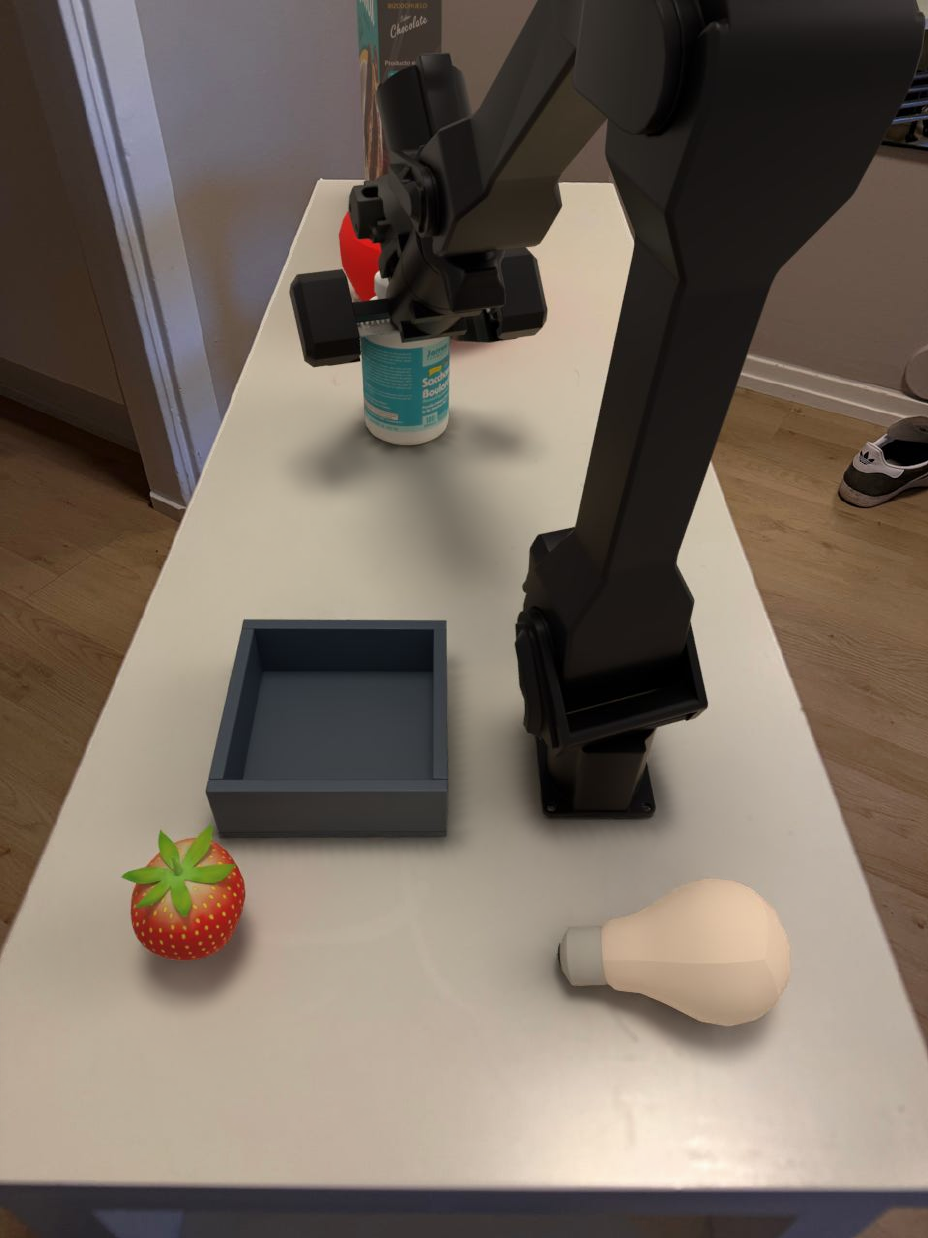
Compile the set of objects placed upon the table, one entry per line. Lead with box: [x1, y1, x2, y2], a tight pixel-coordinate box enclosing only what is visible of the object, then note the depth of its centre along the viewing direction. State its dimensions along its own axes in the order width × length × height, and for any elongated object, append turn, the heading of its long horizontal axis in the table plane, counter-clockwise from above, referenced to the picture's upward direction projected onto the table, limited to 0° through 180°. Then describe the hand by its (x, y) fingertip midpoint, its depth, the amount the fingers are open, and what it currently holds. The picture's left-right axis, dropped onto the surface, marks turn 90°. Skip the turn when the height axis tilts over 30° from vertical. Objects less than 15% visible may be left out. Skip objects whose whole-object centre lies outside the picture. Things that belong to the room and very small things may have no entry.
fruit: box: [120, 823, 246, 961], centre depth 41 cm, size 5×5×8 cm
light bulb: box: [556, 877, 792, 1027], centre depth 42 cm, size 7×7×11 cm
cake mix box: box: [355, 0, 443, 181], centre depth 95 cm, size 22×6×30 cm, turn 10°
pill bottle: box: [360, 271, 451, 446], centre depth 73 cm, size 8×7×14 cm
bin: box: [205, 618, 449, 838], centre depth 51 cm, size 13×13×4 cm
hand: (401, 341), depth 73 cm, fingers open, 9 cm apart
